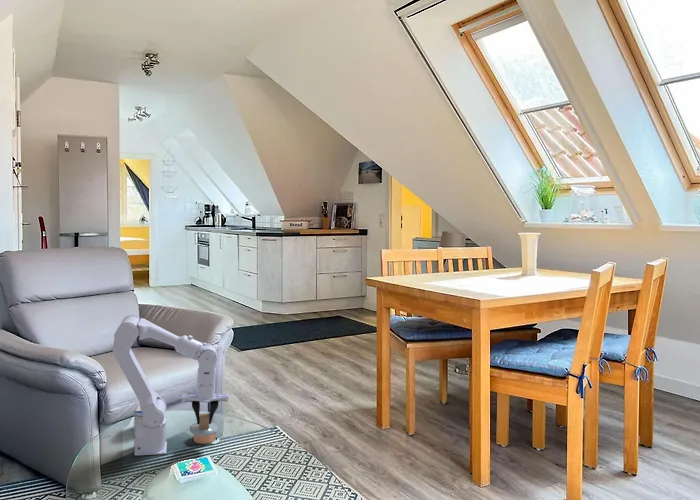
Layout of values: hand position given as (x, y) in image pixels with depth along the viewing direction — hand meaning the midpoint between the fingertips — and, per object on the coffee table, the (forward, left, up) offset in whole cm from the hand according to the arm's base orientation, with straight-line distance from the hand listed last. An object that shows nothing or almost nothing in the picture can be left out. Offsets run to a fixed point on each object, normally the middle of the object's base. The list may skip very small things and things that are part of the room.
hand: (204, 422), depth 188 cm
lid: (0, 0, -2) cm, 2 cm away
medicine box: (-19, +15, -9) cm, 26 cm away
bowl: (+1, +6, -9) cm, 11 cm away
